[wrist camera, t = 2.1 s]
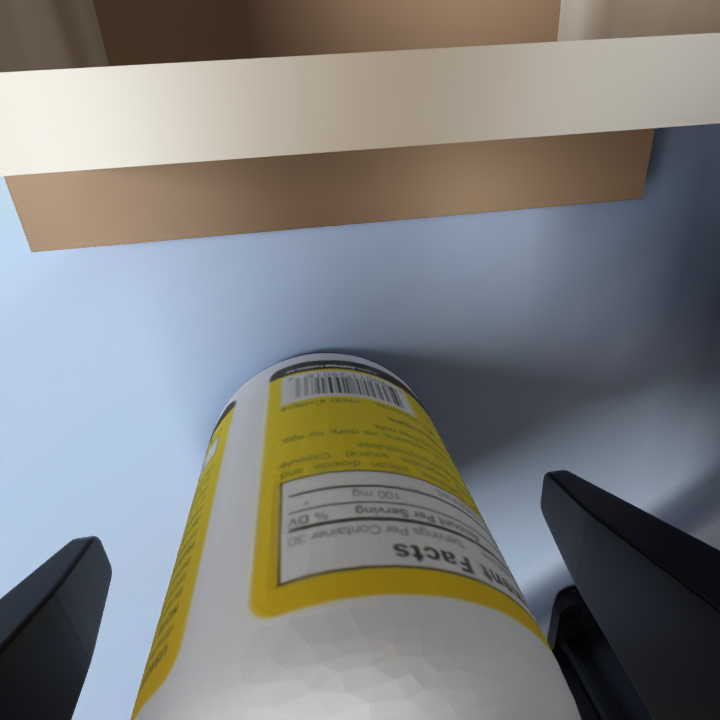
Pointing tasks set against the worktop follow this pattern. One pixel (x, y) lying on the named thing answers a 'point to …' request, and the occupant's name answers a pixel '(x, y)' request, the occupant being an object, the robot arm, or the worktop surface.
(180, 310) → the worktop surface
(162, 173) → the socket board
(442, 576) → the supplement bottle
